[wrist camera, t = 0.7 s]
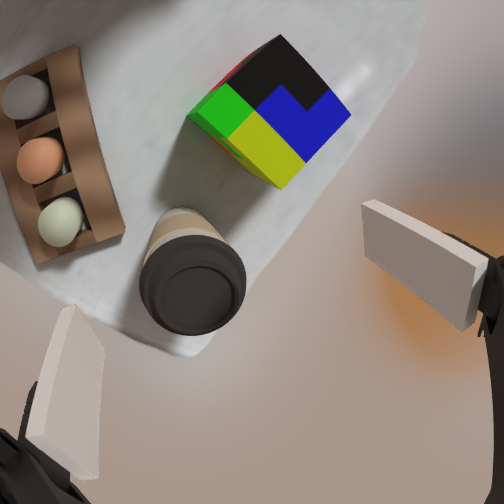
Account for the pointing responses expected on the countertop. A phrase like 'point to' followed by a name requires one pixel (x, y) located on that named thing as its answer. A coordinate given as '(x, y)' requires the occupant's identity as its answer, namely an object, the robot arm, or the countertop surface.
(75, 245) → the button board
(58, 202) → the button sage
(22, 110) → the button grey
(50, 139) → the button terracotta
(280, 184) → the puzzle toy
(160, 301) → the coffee cup
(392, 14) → the countertop surface
